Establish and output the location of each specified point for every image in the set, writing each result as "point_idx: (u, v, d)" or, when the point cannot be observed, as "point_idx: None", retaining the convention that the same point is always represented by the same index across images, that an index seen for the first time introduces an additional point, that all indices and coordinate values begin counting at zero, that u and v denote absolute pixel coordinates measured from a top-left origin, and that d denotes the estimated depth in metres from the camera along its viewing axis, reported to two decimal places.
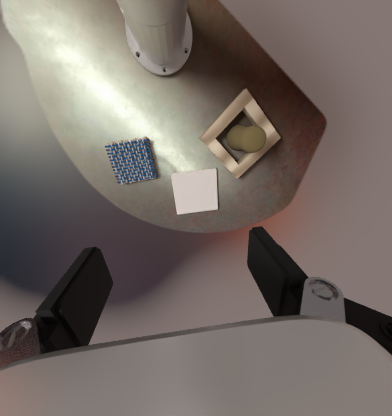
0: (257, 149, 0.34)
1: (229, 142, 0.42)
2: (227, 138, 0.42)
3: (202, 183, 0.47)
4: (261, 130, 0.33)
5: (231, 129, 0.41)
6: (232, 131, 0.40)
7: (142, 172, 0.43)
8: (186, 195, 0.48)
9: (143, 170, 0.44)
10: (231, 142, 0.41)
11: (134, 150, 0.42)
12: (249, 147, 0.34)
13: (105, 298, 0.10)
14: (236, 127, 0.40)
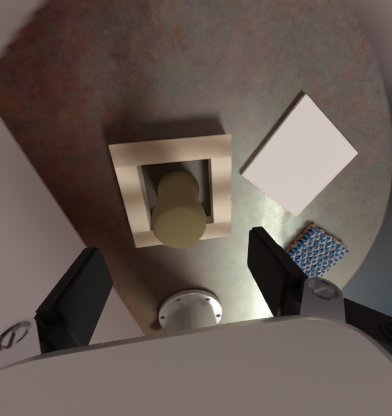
0: (186, 210, 0.14)
1: None
2: None
3: (279, 170, 0.24)
4: (158, 236, 0.15)
5: None
6: None
7: (318, 244, 0.29)
8: (314, 171, 0.25)
9: None
10: None
11: None
12: (199, 225, 0.15)
13: (105, 298, 0.10)
14: None
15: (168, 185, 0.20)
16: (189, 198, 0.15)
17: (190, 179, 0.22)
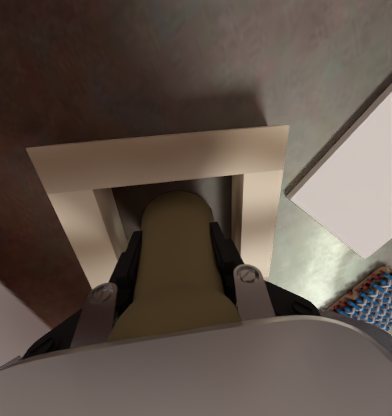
0: None
1: None
2: None
3: (354, 189, 0.14)
4: None
5: None
6: None
7: None
8: None
9: None
10: None
11: None
12: None
13: None
14: None
15: (157, 232, 0.09)
16: (214, 322, 0.05)
17: (201, 211, 0.12)
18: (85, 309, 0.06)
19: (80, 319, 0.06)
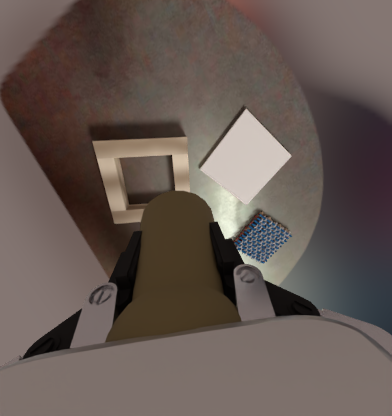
0: None
1: None
2: None
3: (229, 166, 0.31)
4: None
5: None
6: None
7: (266, 228, 0.36)
8: (258, 169, 0.32)
9: None
10: None
11: (249, 244, 0.39)
12: None
13: None
14: None
15: (157, 232, 0.09)
16: (213, 321, 0.05)
17: (200, 210, 0.12)
18: (85, 309, 0.06)
19: (80, 319, 0.06)
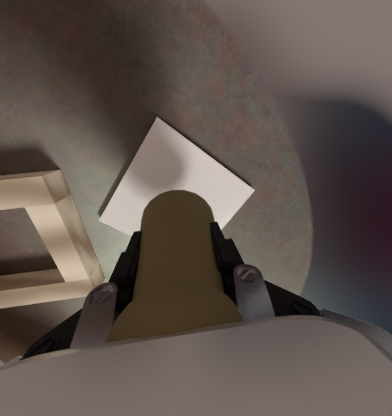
0: None
1: None
2: None
3: None
4: None
5: None
6: None
7: None
8: None
9: None
10: None
11: None
12: None
13: None
14: None
15: (157, 231, 0.09)
16: (214, 320, 0.05)
17: (201, 210, 0.12)
18: (85, 309, 0.06)
19: (80, 319, 0.06)
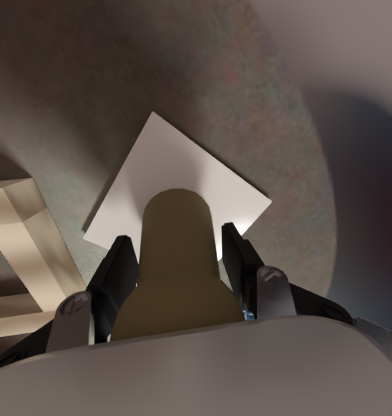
0: None
1: None
2: None
3: None
4: None
5: None
6: None
7: None
8: None
9: None
10: None
11: None
12: None
13: (135, 282, 0.11)
14: None
15: (158, 226, 0.10)
16: (209, 297, 0.06)
17: (199, 207, 0.12)
18: (56, 321, 0.06)
19: (52, 332, 0.06)
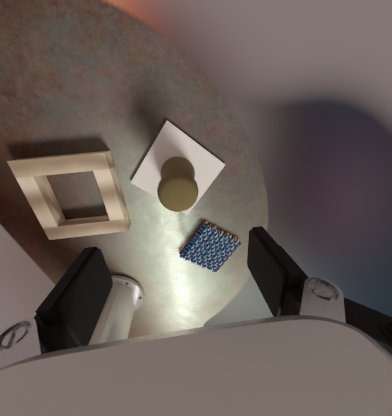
0: (183, 181, 0.20)
1: None
2: None
3: None
4: (163, 201, 0.21)
5: None
6: None
7: (211, 237, 0.36)
8: None
9: None
10: None
11: None
12: (192, 193, 0.20)
13: (105, 298, 0.10)
14: None
15: (170, 166, 0.25)
16: (185, 173, 0.21)
17: (187, 163, 0.28)
18: None
19: None
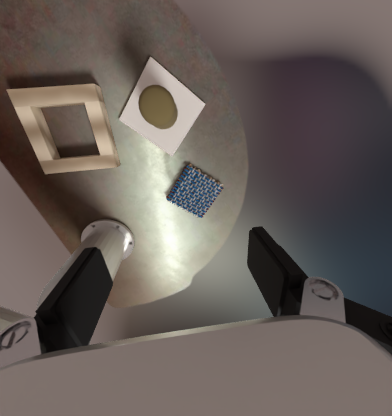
0: (159, 90, 0.23)
1: (175, 117, 0.32)
2: (174, 122, 0.34)
3: None
4: (143, 111, 0.24)
5: (165, 128, 0.33)
6: (166, 127, 0.32)
7: (195, 180, 0.39)
8: None
9: None
10: (175, 116, 0.31)
11: (185, 198, 0.42)
12: (168, 103, 0.24)
13: (105, 298, 0.10)
14: (160, 127, 0.32)
15: None
16: None
17: None
18: None
19: None
